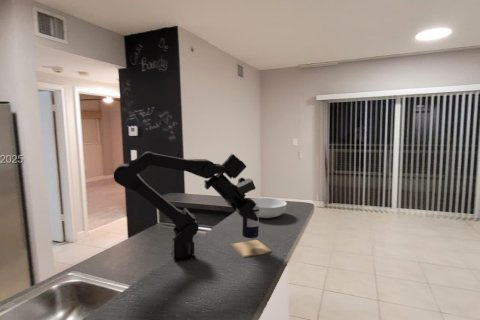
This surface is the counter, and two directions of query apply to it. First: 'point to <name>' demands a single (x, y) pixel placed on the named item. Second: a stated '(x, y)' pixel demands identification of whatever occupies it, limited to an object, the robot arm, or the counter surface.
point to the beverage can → (251, 226)
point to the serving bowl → (270, 207)
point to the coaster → (250, 248)
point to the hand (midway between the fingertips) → (254, 217)
